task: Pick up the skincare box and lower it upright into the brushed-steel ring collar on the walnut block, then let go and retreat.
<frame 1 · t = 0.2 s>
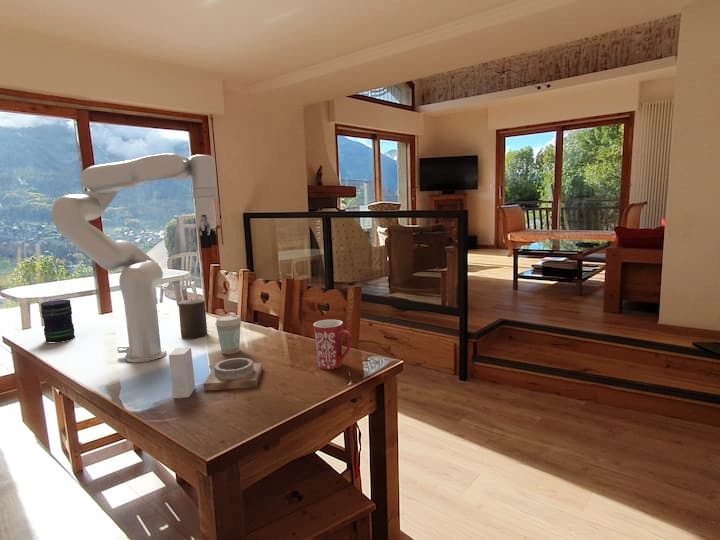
hand: (209, 246, 149), 36 cm above the table, tool pointing down, fingers open, 9 cm apart
coffee cup: (230, 352, 156), on the table
pillar candle: (194, 336, 177), on the table
skincare box: (184, 394, 122), on the table
ring stand: (235, 379, 131), on the table
mug: (334, 367, 138), on the table
storage jar: (60, 339, 177), on the table
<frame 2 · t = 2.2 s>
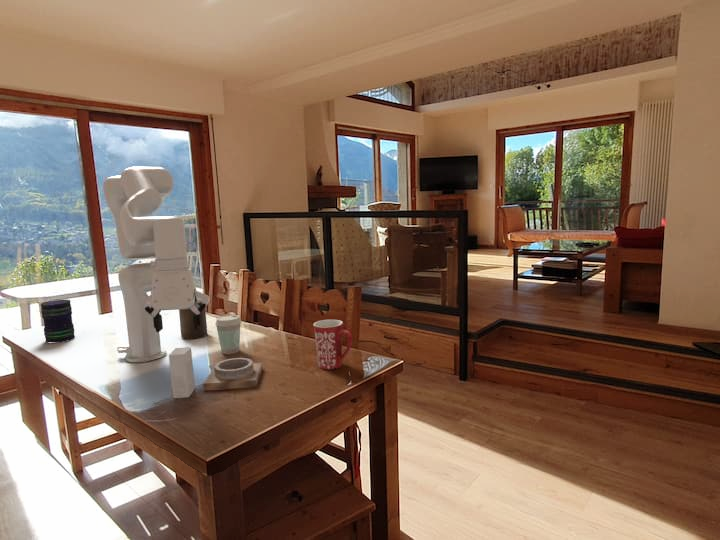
hand: (178, 329, 119), 18 cm above the table, tool pointing down, fingers open, 9 cm apart
nothing on the table moved.
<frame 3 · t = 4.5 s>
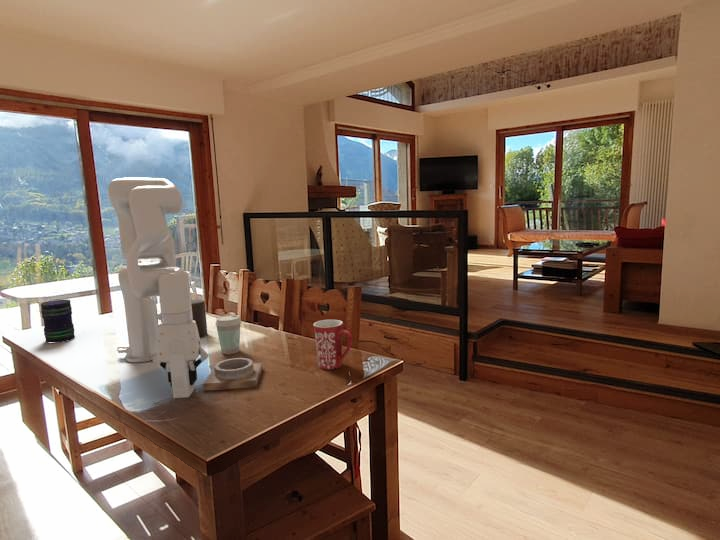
hand: (183, 383, 121), 3 cm above the table, tool pointing down, fingers closed on skincare box, 4 cm apart
skincare box: (184, 394, 122), on the table, touching gripper
everything else where it was.
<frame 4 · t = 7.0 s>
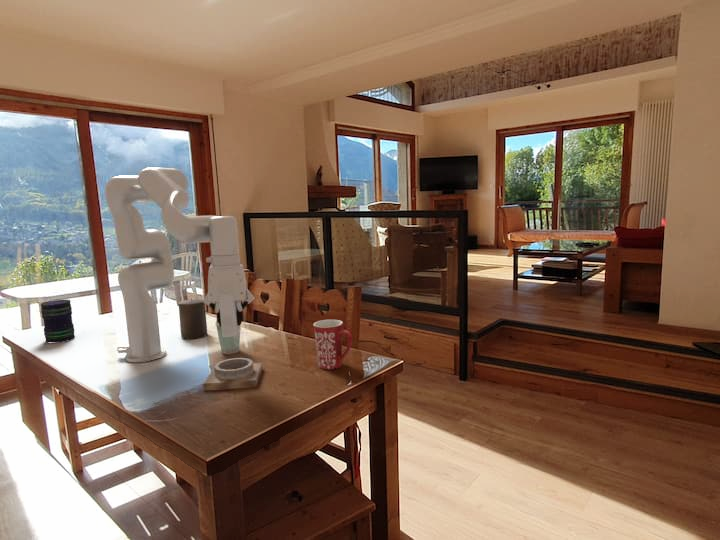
hand: (230, 324, 128), 16 cm above the table, tool pointing down, fingers closed on skincare box, 4 cm apart
skincare box: (231, 334, 129), point 13 cm above the table, touching gripper
everything else where it was.
when the fingers open (6 cm above the table, at t = 9.4 s): skincare box drops 1 cm, resting on ring stand.
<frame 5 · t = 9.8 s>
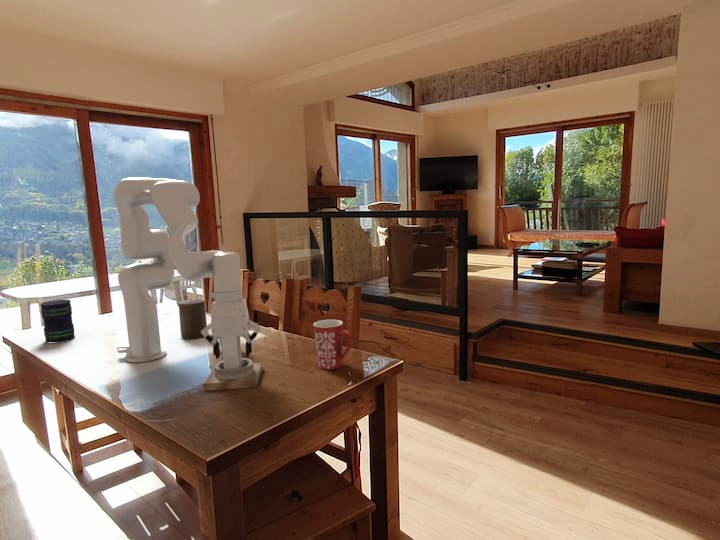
hand: (233, 355, 130), 7 cm above the table, tool pointing down, fingers open, 8 cm apart
skincare box: (233, 373, 130), point 2 cm above the table, touching ring stand
everything else where it was.
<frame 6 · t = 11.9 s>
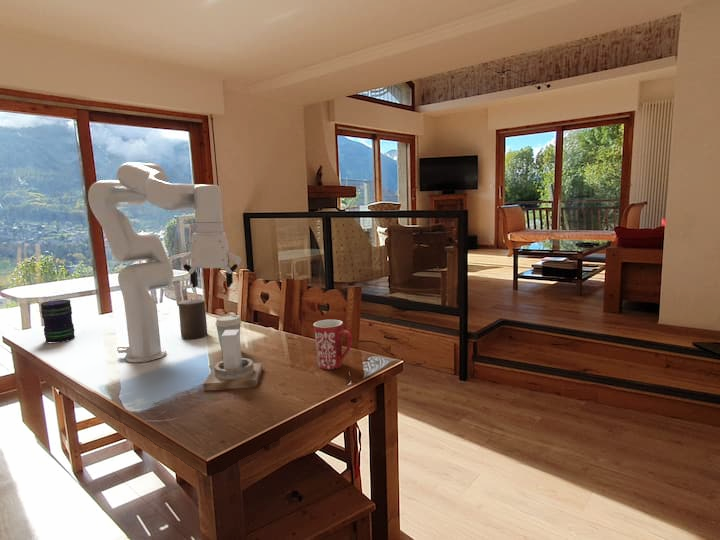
hand: (212, 286, 133), 26 cm above the table, tool pointing down, fingers open, 9 cm apart
nothing on the table moved.
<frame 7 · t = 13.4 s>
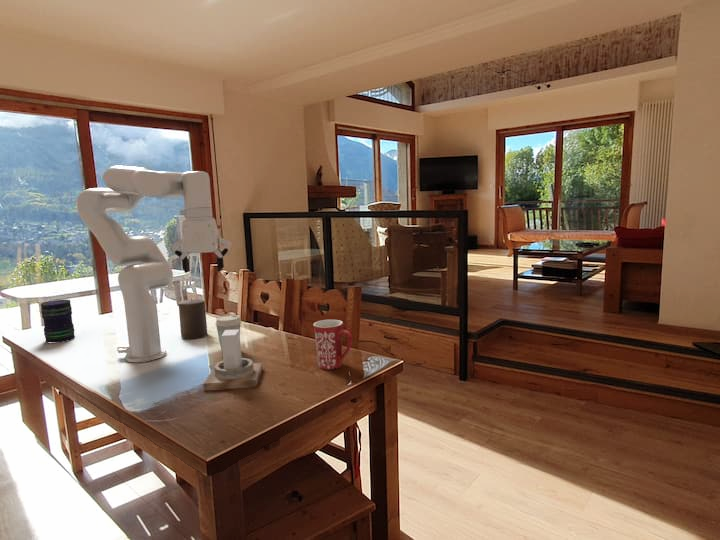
hand: (203, 271, 136), 30 cm above the table, tool pointing down, fingers open, 9 cm apart
nothing on the table moved.
at the end: skincare box 0.3 cm from the ring stand (horizontally); skincare box tilted 0°; skincare box point 1.8 cm above the table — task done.
